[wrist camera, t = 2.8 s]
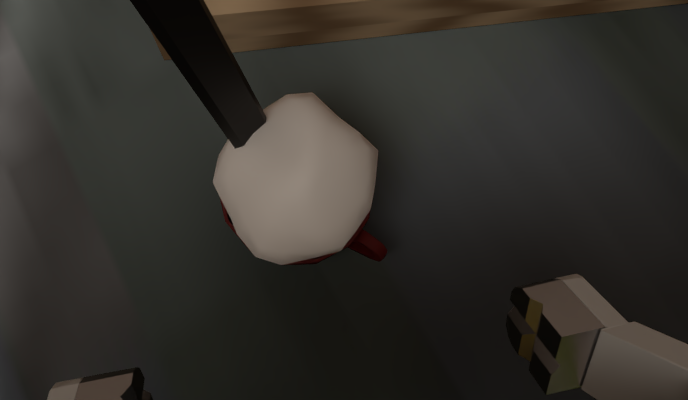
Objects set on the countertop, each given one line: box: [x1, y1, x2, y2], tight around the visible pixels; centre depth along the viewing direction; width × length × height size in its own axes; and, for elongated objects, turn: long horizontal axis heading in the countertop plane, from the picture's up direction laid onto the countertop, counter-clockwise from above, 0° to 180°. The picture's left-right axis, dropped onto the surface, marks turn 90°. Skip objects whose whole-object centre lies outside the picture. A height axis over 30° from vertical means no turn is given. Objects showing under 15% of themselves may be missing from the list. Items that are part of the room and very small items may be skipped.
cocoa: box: [130, 0, 387, 265], centre depth 17 cm, size 10×6×12 cm, turn 31°
